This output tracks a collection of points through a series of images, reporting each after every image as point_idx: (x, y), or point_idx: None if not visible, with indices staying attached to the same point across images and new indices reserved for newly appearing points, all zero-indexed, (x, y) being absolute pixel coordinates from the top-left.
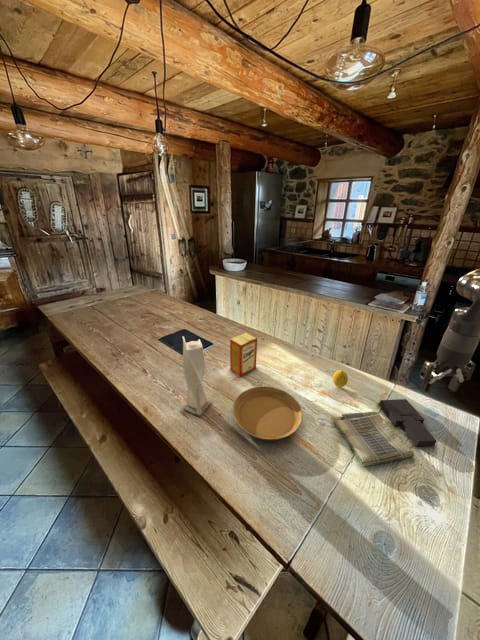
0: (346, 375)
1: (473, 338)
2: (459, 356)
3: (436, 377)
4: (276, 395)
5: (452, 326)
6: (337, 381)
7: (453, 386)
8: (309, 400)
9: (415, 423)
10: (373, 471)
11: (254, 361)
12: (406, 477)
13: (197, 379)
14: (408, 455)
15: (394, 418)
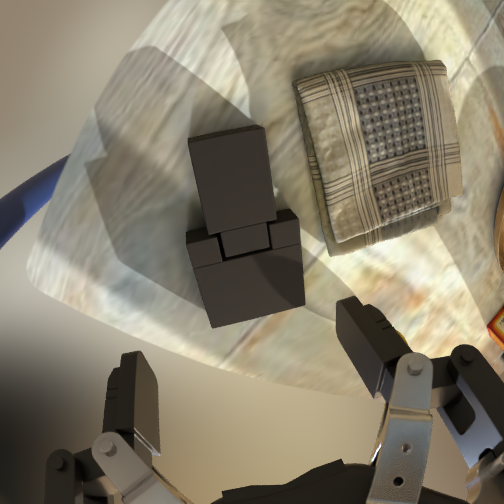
0: None
1: None
2: None
3: (432, 417)
4: (502, 260)
5: None
6: (403, 337)
7: (143, 388)
8: (456, 265)
9: (232, 217)
10: (414, 49)
11: (501, 334)
12: (341, 21)
13: None
14: (319, 76)
15: (299, 230)
